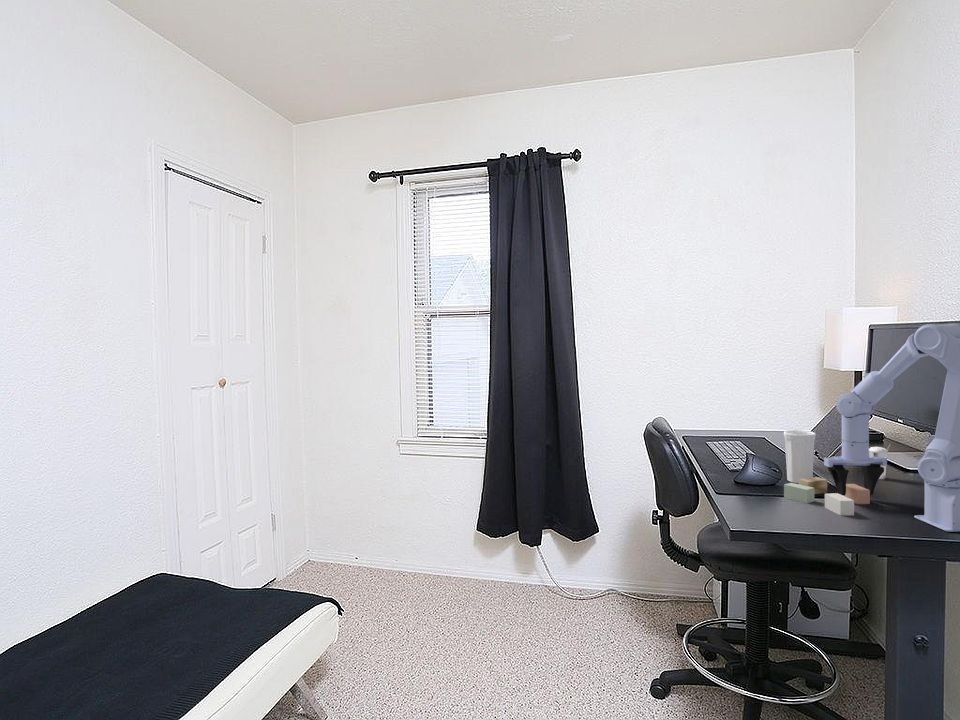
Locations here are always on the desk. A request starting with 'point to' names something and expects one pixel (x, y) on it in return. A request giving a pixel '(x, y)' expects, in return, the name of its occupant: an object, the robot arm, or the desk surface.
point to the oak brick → (815, 484)
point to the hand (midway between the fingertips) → (855, 494)
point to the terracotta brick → (857, 494)
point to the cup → (799, 454)
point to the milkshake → (879, 453)
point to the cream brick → (839, 504)
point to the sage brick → (799, 492)
